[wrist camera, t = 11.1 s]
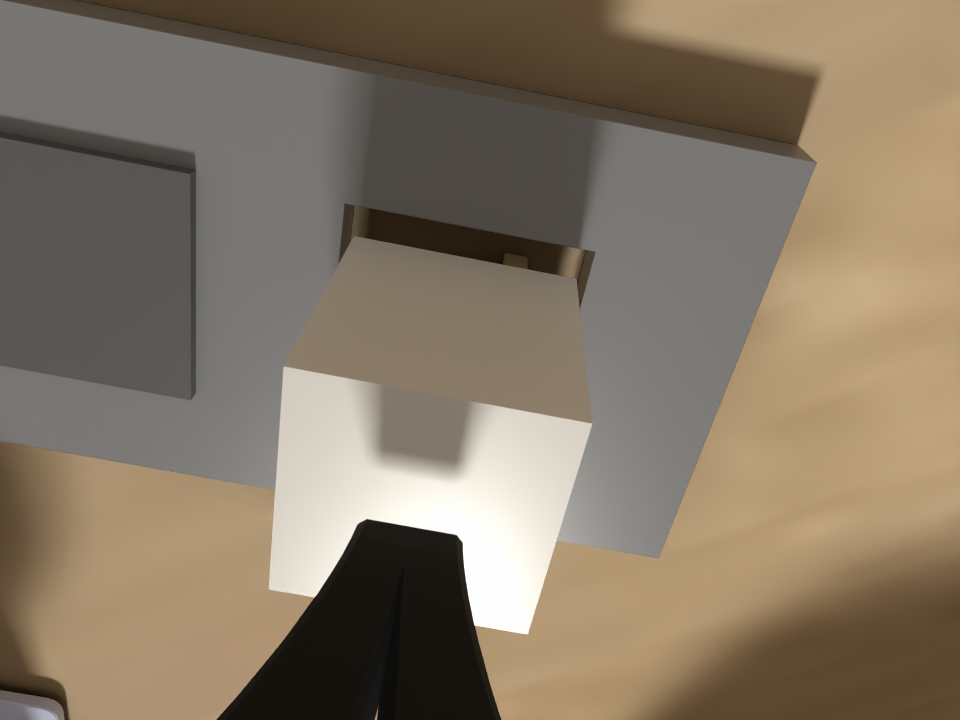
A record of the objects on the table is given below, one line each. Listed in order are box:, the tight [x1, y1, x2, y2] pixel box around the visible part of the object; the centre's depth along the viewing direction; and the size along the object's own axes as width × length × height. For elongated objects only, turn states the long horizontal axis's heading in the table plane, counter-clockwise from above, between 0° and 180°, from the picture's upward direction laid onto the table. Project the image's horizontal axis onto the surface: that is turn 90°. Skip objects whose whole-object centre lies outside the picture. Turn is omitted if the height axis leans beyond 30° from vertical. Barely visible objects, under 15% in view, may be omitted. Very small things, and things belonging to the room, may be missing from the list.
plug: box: [269, 236, 592, 634], centre depth 15 cm, size 4×4×7 cm
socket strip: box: [0, 0, 816, 559], centre depth 17 cm, size 10×20×2 cm, turn 80°
